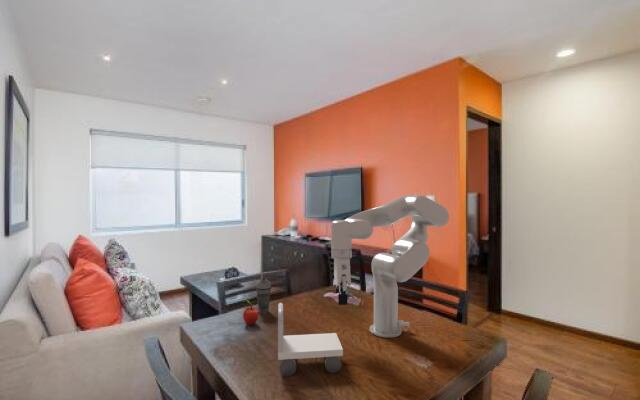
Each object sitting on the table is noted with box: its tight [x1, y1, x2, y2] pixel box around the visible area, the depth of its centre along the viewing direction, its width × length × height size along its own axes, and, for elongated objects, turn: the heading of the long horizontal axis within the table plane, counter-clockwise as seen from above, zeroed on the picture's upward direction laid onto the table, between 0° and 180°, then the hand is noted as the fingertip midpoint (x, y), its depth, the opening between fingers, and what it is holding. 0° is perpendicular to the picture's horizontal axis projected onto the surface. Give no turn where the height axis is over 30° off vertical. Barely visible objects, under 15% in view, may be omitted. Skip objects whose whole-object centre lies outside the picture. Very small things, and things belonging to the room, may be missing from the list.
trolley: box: [277, 302, 344, 377], centre depth 103 cm, size 20×13×18 cm, turn 97°
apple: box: [242, 299, 260, 326], centre depth 135 cm, size 8×7×10 cm
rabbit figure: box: [323, 288, 364, 307], centre depth 118 cm, size 6×6×15 cm
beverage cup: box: [255, 269, 272, 314], centre depth 149 cm, size 7×7×20 cm
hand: (341, 301), depth 118 cm, fingers closed on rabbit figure, 5 cm apart
